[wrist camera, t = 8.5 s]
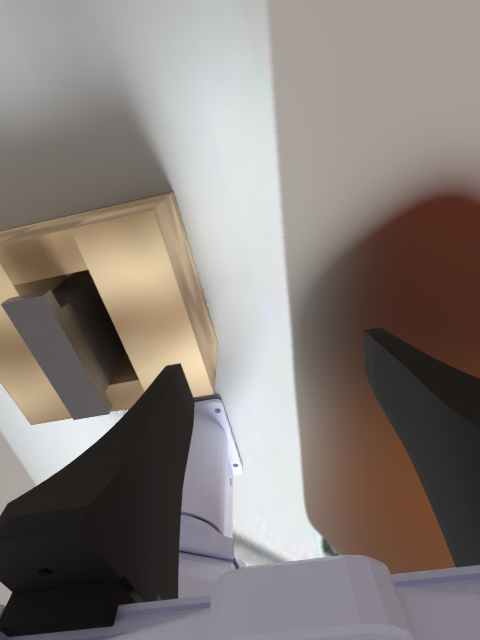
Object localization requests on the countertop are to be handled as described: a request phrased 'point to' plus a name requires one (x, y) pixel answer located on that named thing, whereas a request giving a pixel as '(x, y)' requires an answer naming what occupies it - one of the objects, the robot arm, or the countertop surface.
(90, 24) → the countertop surface
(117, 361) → the grey flat piece
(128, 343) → the slotted wooden block
